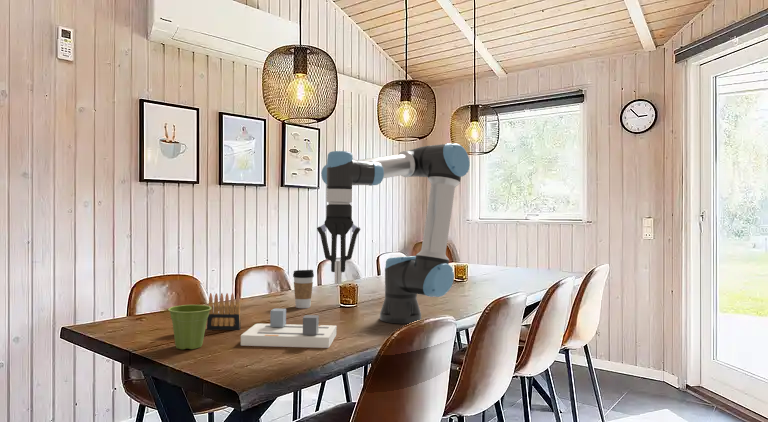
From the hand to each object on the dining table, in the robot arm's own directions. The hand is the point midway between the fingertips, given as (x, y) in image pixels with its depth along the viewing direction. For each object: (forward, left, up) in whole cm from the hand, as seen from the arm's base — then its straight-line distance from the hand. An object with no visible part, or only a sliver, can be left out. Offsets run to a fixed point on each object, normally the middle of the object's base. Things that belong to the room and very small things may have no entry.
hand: (338, 283), depth 162 cm
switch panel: (+15, -5, -18) cm, 24 cm away
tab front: (+8, 0, -15) cm, 17 cm away
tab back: (+20, -9, -15) cm, 27 cm away
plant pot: (+42, +6, -19) cm, 46 cm away
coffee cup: (+22, -59, -19) cm, 65 cm away
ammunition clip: (+40, -17, -19) cm, 47 cm away
